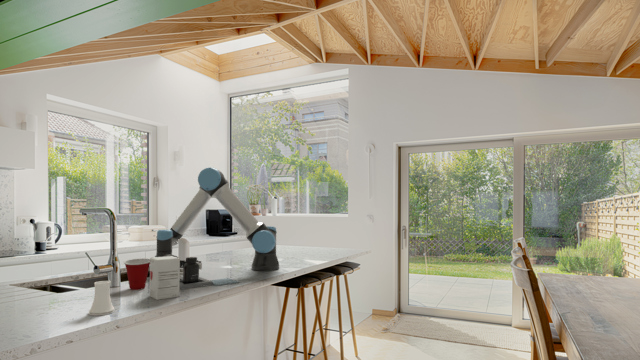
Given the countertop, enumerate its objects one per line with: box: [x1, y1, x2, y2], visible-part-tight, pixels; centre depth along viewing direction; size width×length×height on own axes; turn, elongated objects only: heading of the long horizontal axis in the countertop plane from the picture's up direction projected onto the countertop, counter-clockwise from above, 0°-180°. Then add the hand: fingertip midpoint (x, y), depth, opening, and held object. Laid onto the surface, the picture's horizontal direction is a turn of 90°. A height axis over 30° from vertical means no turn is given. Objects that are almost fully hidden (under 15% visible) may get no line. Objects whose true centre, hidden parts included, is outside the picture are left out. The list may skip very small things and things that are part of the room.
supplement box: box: [148, 255, 181, 301], centre depth 160 cm, size 9×9×15 cm
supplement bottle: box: [182, 256, 200, 284], centre depth 183 cm, size 7×7×12 cm
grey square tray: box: [179, 276, 213, 290], centre depth 182 cm, size 14×14×2 cm
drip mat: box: [208, 277, 240, 287], centre depth 187 cm, size 11×11×1 cm
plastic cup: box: [123, 258, 150, 291], centre depth 174 cm, size 11×11×12 cm
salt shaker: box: [88, 280, 115, 316], centre depth 136 cm, size 8×8×10 cm
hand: (186, 267), depth 185 cm, fingers open, 13 cm apart
